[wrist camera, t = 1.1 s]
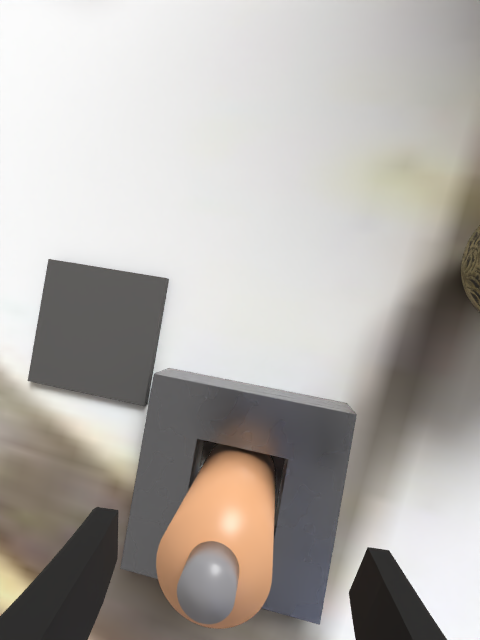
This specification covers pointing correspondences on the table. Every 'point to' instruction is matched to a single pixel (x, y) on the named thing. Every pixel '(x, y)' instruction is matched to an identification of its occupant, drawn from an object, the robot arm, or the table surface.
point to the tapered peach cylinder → (222, 540)
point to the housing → (255, 435)
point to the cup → (472, 269)
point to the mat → (98, 331)
